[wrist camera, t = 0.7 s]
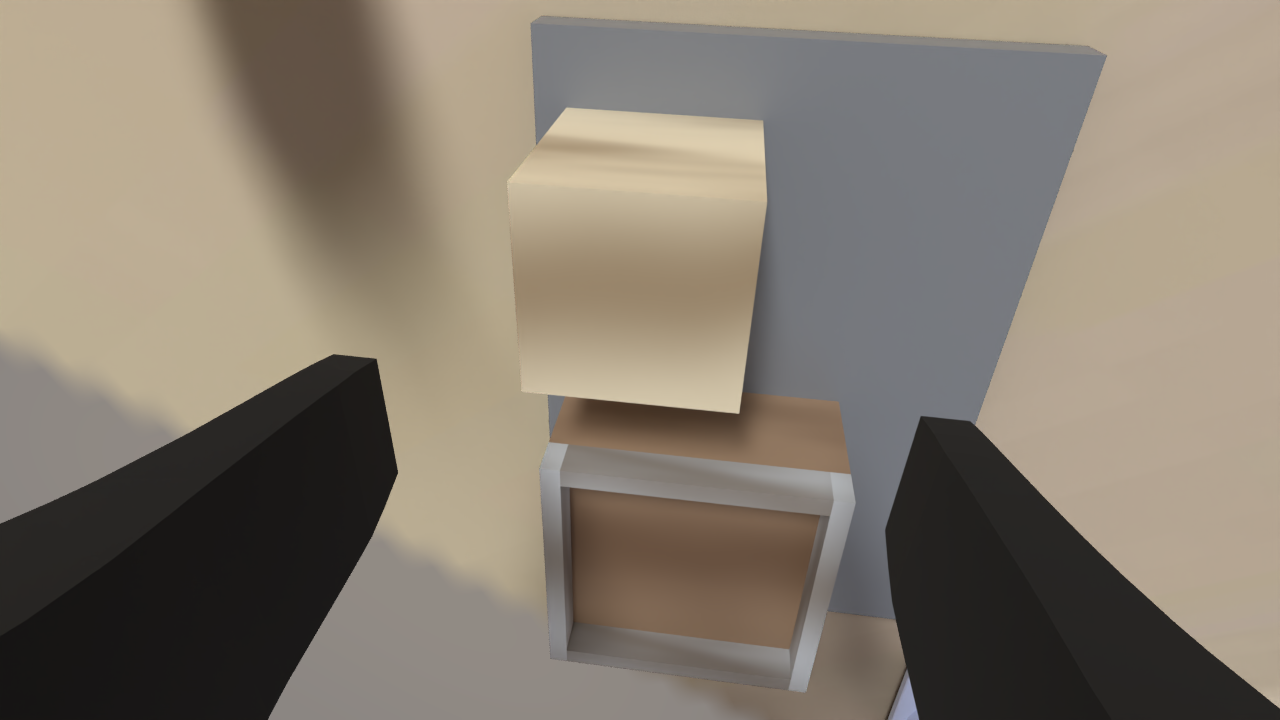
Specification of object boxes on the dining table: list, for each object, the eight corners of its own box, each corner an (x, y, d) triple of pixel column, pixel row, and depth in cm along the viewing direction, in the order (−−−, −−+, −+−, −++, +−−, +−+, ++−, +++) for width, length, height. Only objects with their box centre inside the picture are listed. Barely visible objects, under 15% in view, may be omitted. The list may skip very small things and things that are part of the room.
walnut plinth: (798, 582, 25) (805, 692, 21) (576, 555, 25) (550, 658, 22) (838, 401, 20) (855, 503, 17) (572, 375, 21) (539, 468, 18)
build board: (900, 596, 26) (904, 620, 25) (562, 555, 27) (556, 577, 26) (1088, 46, 16) (1107, 55, 15) (541, 16, 17) (530, 23, 16)
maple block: (741, 296, 19) (738, 413, 15) (570, 281, 19) (521, 391, 15) (763, 120, 17) (766, 201, 12) (566, 107, 17) (506, 182, 13)
